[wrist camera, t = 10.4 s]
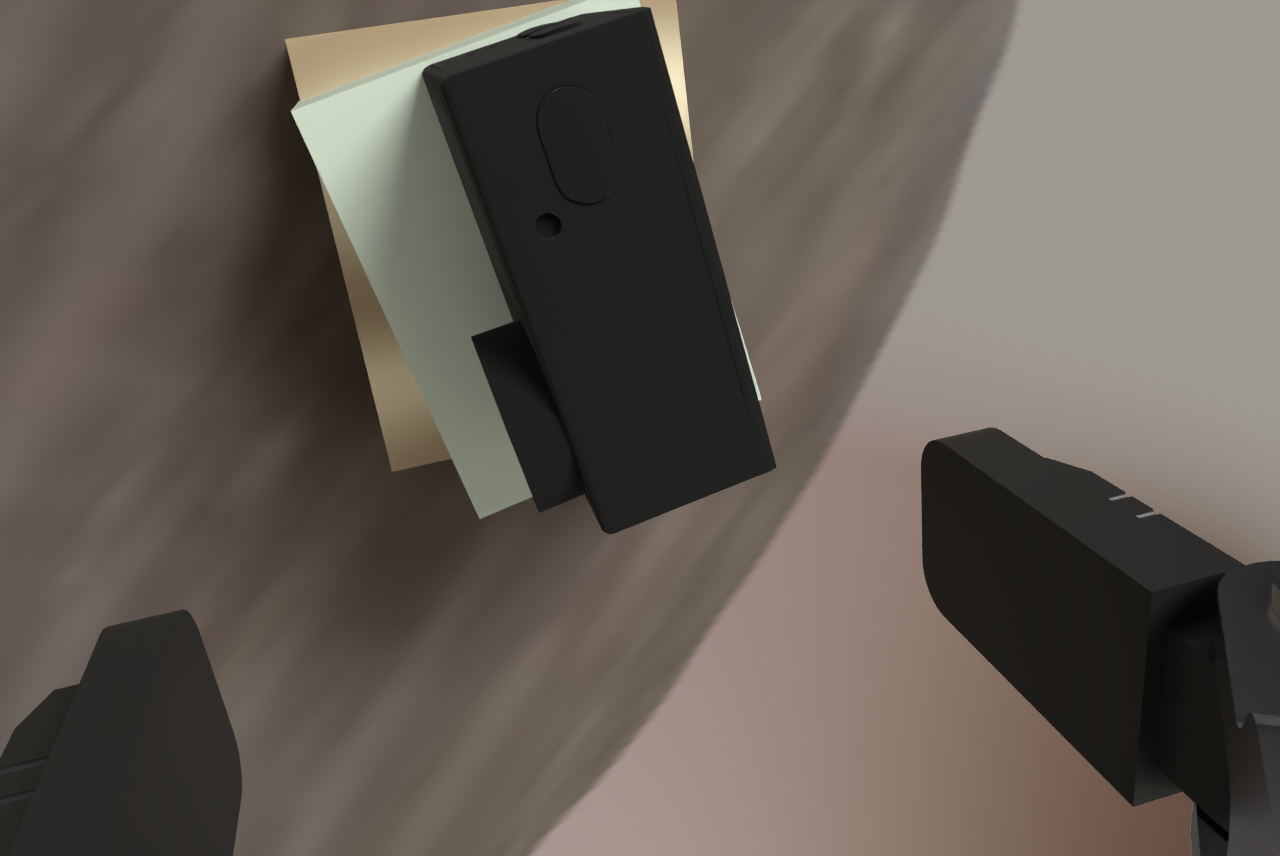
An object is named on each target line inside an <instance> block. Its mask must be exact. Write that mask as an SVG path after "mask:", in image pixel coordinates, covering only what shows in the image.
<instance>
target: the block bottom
mask: <svg viewBox="0 0 1280 856" xmlns="http://www.w3.org/2000/svg"><path fill="white" fill-rule="evenodd" d="M566 1H568V0H558V1H551V2H544V3H537V4H530V5H523V6H516V7H509V8H502V9H495V10H488V11H481V12H474V13H467V14H460V15H453V16H445V17H438V18H431V19H424V20H417V21H410V22H403V23H396V24H389V25H382V26H375V27H368V28H361V29H354V30H347V31H339V32H332V33H325V34H318V35H311V36H304V37H297V38H290V39H285V41H286V45H287V49H288V53H289V57H290V61H291V65H292V70H293V74H294V78H295V82H296V86H297V90H298V94H299V98H300V101H301V100H303V99H306V98H309V97H311V96H314V95H317V94H320V93H322V92H325V91H328V90H330V89H333V88H336V87H338V86H341V85H344V84H346V83H349V82H352V81H354V80H357V79H360V78H362V77H365V76H368V75H370V74H373V73H376V72H378V71H381V70H384V69H386V68H389V67H392V66H394V65H397V64H400V63H402V62H405V61H408V60H411V59H413V58H416V57H419V56H421V55H424V54H427V53H429V52H432V51H435V50H437V49H440V48H443V47H445V46H448V45H451V44H453V43H456V42H459V41H461V40H464V39H467V38H469V37H472V36H475V35H477V34H480V33H483V32H485V31H488V30H491V29H494V28H496V27H499V26H502V25H504V24H507V23H510V22H512V21H515V20H518V19H520V18H523V17H526V16H528V15H531V14H534V13H536V12H539V11H542V10H544V9H547V8H550V7H552V6H555V5H558V4H560V3H563V2H566ZM639 2H640V5H641V7H650V8H651V11H652V15H653V18H654V22H655V26H656V29H657V33H658V36H659V40H660V44H661V47H662V51H663V54H664V58H665V62H666V65H667V69H668V73H669V76H670V80H671V83H672V87H673V91H674V94H675V98H676V101H677V105H678V109H679V112H680V116H681V120H682V123H683V127H684V130H685V134H686V138H687V141H688V145H689V148H690V152H691V156H692V159H693V153H692V144H691V134H690V125H689V116H688V107H687V97H686V88H685V79H684V70H683V61H682V51H681V42H680V33H679V24H678V14H677V5H676V0H639ZM693 163H694V162H693ZM317 171H318V169H317ZM318 175H319V179H320V183H321V187H322V191H323V195H324V199H325V203H326V207H327V211H328V215H329V219H330V223H331V227H332V231H333V235H334V239H335V243H336V247H337V251H338V255H339V259H340V263H341V267H342V272H343V276H344V280H345V284H346V288H347V292H348V296H349V300H350V304H351V308H352V312H353V316H354V320H355V324H356V328H357V332H358V336H359V340H360V344H361V348H362V352H363V356H364V360H365V364H366V368H367V373H368V377H369V381H370V385H371V389H372V393H373V397H374V401H375V405H376V409H377V413H378V417H379V421H380V425H381V429H382V433H383V437H384V441H385V445H386V449H387V453H388V457H389V461H390V465H391V469H392V472H394V471H399V470H403V469H408V468H412V467H417V466H422V465H426V464H431V463H435V462H440V461H444V460H449V459H452V458H451V456H450V454H449V452H448V450H447V448H446V445H445V443H444V441H443V439H442V437H441V435H440V432H439V430H438V428H437V426H436V424H435V422H434V420H433V417H432V415H431V413H430V411H429V409H428V407H427V404H426V402H425V400H424V398H423V396H422V394H421V391H420V389H419V387H418V385H417V383H416V381H415V379H414V376H413V374H412V372H411V370H410V368H409V366H408V363H407V361H406V359H405V357H404V355H403V353H402V350H401V348H400V346H399V344H398V342H397V340H396V337H395V335H394V333H393V331H392V329H391V327H390V325H389V322H388V320H387V318H386V316H385V314H384V312H383V309H382V307H381V305H380V303H379V301H378V299H377V296H376V294H375V292H374V290H373V288H372V286H371V284H370V281H369V279H368V277H367V275H366V273H365V271H364V268H363V266H362V264H361V262H360V260H359V258H358V255H357V253H356V251H355V249H354V247H353V245H352V242H351V240H350V238H349V236H348V234H347V232H346V230H345V227H344V225H343V223H342V221H341V219H340V217H339V214H338V212H337V210H336V208H335V206H334V204H333V201H332V199H331V197H330V195H329V193H328V191H327V189H326V186H325V184H324V182H323V180H322V178H321V176H320V173H319V171H318Z"/></svg>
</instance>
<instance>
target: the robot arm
mask: <svg viewBox="0 0 1280 856" xmlns="http://www.w3.org/2000/svg"><path fill="white" fill-rule="evenodd" d="M921 490H922V550H923V553H922V555H923V569H924V575H925V579H926V582H927V586H928V589H929V592H930V594H931V597H932V599H933V601H934V603H935V604H936V606H937V608H938V609H939V611H940V612H941V613H942V614H943V616H944V617H945V618H946V619H947V620H948V621H949V622H950V623H951V624H952V625H953V626H954V627H955V628H956V629H957V630H958V631H959V632H960V633H961V634H962V635H963V636H964V637H965V638H966V639H967V640H968V641H969V642H970V643H971V644H972V645H973V646H974V647H975V648H976V649H977V650H978V651H979V652H980V653H981V654H982V655H983V656H984V657H985V658H986V659H987V660H988V661H989V662H990V663H991V664H992V665H993V666H994V667H995V668H996V669H997V670H998V671H999V672H1000V673H1001V674H1002V675H1003V676H1004V677H1005V678H1006V679H1007V680H1008V681H1009V682H1010V683H1011V684H1012V685H1013V686H1014V687H1015V688H1016V689H1017V690H1018V691H1019V692H1020V693H1021V694H1022V695H1023V696H1024V697H1025V698H1026V699H1027V700H1028V701H1029V702H1030V703H1031V704H1032V705H1033V706H1034V707H1035V708H1036V710H1037V711H1038V712H1040V714H1042V716H1044V717H1045V718H1046V720H1047V721H1048V722H1049V723H1050V724H1052V726H1053V727H1054V728H1055V729H1056V730H1057V731H1058V732H1059V733H1060V734H1061V735H1062V736H1063V737H1064V738H1065V739H1066V740H1068V742H1069V743H1070V744H1071V745H1072V746H1073V747H1074V748H1075V749H1076V750H1077V751H1078V752H1079V753H1080V754H1081V755H1082V756H1083V757H1084V758H1085V759H1086V760H1087V761H1088V762H1089V763H1090V764H1091V765H1092V766H1093V767H1094V768H1095V769H1096V770H1097V771H1098V772H1099V773H1100V774H1101V775H1102V776H1103V777H1104V778H1105V779H1106V780H1107V781H1108V782H1109V783H1110V784H1111V785H1112V786H1113V787H1114V788H1115V789H1116V790H1117V791H1118V792H1119V793H1120V794H1121V795H1122V796H1123V797H1124V798H1125V799H1126V800H1127V801H1128V802H1129V803H1130V804H1131V805H1132V806H1133V807H1134V806H1137V805H1141V804H1144V803H1147V802H1150V801H1153V800H1156V799H1160V798H1163V797H1166V796H1170V795H1173V794H1176V793H1179V792H1182V791H1183V792H1184V793H1185V794H1186V795H1187V796H1188V797H1189V798H1190V799H1191V800H1192V801H1193V810H1192V817H1191V828H1190V836H1191V851H1192V856H1280V561H1265V562H1257V563H1252V564H1248V565H1244V564H1242V563H1241V562H1239V561H1238V560H1236V559H1234V558H1233V557H1231V556H1229V555H1228V554H1226V553H1224V552H1223V551H1221V550H1219V549H1217V548H1216V547H1215V546H1213V545H1211V544H1210V543H1208V542H1206V541H1205V540H1203V539H1201V538H1200V537H1198V536H1196V535H1195V534H1193V533H1192V532H1190V531H1188V530H1186V529H1185V528H1183V527H1181V526H1180V525H1178V524H1177V523H1175V522H1173V521H1172V520H1170V519H1169V518H1167V517H1165V516H1164V515H1162V514H1158V515H1155V514H1154V511H1153V509H1152V508H1150V507H1149V506H1147V505H1146V504H1144V503H1142V502H1141V501H1139V500H1137V499H1136V498H1134V497H1126V494H1125V492H1124V491H1123V490H1121V489H1119V488H1118V487H1116V486H1114V485H1113V484H1111V483H1109V482H1108V481H1106V480H1104V479H1103V478H1101V477H1100V476H1098V475H1096V474H1095V473H1093V472H1091V471H1088V470H1085V469H1081V468H1078V467H1075V466H1072V465H1068V464H1065V463H1062V462H1059V461H1055V460H1051V459H1049V458H1043V457H1042V456H1040V455H1038V454H1037V453H1036V452H1034V451H1032V450H1030V449H1029V448H1028V447H1026V446H1024V445H1023V444H1021V443H1019V442H1018V441H1017V440H1015V439H1013V438H1012V437H1010V436H1009V435H1007V434H1005V433H1004V432H1002V431H1001V430H998V429H997V428H986V429H981V430H977V431H972V432H968V433H964V434H959V435H955V436H951V437H946V438H942V439H937V440H933V441H931V442H929V443H928V444H927V445H926V447H925V449H924V451H923V454H922V460H921ZM241 795H242V776H241V765H240V758H239V752H238V747H237V743H236V739H235V735H234V732H233V729H232V726H231V723H230V720H229V717H228V714H227V711H226V708H225V705H224V703H223V700H222V697H221V694H220V691H219V688H218V685H217V682H216V679H215V676H214V673H213V670H212V667H211V665H210V662H209V659H208V656H207V653H206V650H205V647H204V644H203V641H202V638H201V635H200V632H199V630H198V627H197V625H196V623H195V621H194V619H193V617H192V616H191V614H190V613H189V612H188V611H187V610H184V609H183V610H179V611H174V612H170V613H165V614H161V615H157V616H152V617H148V618H143V619H139V620H135V621H130V622H126V623H121V624H117V625H113V626H108V627H106V628H104V629H103V630H102V632H101V634H100V636H99V638H98V641H97V643H96V646H95V648H94V650H93V653H92V655H91V658H90V660H89V662H88V665H87V667H86V669H85V672H84V674H83V677H82V679H81V681H80V684H78V685H74V686H69V687H65V688H61V689H57V690H54V691H53V692H52V693H51V694H50V695H49V696H48V697H47V698H46V699H45V700H44V701H43V702H42V703H41V704H40V705H38V706H37V707H36V708H35V709H34V710H33V711H32V712H31V713H30V714H29V715H28V716H27V717H26V718H25V719H24V720H23V721H22V722H21V723H20V724H19V725H18V726H17V727H16V728H15V729H14V731H13V733H12V735H11V737H10V740H9V742H8V744H7V746H6V748H5V750H4V752H3V754H2V756H1V758H0V856H233V851H234V844H235V837H236V830H237V823H238V817H239V810H240V803H241Z"/></svg>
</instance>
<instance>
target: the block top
mask: <svg viewBox="0 0 1280 856" xmlns="http://www.w3.org/2000/svg"><path fill="white" fill-rule="evenodd" d="M635 7H641V5H640V2H639V0H568V1H566V2H563V3H560V4H558V5H555V6H552V7H550V8H547V9H544V10H542V11H539V12H536V13H534V14H531V15H528V16H526V17H523V18H520V19H518V20H515V21H512V22H510V23H507V24H504V25H502V26H499V27H496V28H494V29H491V30H488V31H485V32H483V33H480V34H477V35H475V36H472V37H469V38H467V39H464V40H461V41H459V42H456V43H453V44H451V45H448V46H445V47H443V48H440V49H437V50H435V51H432V52H429V53H427V54H424V55H421V56H419V57H416V58H413V59H411V60H408V61H405V62H402V63H400V64H397V65H394V66H392V67H389V68H386V69H384V70H381V71H378V72H376V73H373V74H370V75H368V76H365V77H362V78H360V79H357V80H354V81H352V82H349V83H346V84H344V85H341V86H338V87H336V88H333V89H330V90H328V91H325V92H322V93H320V94H317V95H314V96H311V97H309V98H306V99H303V100H301V101H299V102H298V103H297V104H296V105H295V107H294V108H293V109H292V110H291V113H292V115H293V117H294V119H295V122H296V124H297V126H298V128H299V130H300V132H301V135H302V137H303V139H304V141H305V143H306V145H307V148H308V150H309V152H310V154H311V156H312V158H313V160H314V163H315V165H316V167H317V169H318V171H319V173H320V176H321V178H322V180H323V182H324V184H325V186H326V189H327V191H328V193H329V195H330V197H331V199H332V201H333V204H334V206H335V208H336V210H337V212H338V214H339V217H340V219H341V221H342V223H343V225H344V227H345V230H346V232H347V234H348V236H349V238H350V240H351V242H352V245H353V247H354V249H355V251H356V253H357V255H358V258H359V260H360V262H361V264H362V266H363V268H364V271H365V273H366V275H367V277H368V279H369V281H370V284H371V286H372V288H373V290H374V292H375V294H376V296H377V299H378V301H379V303H380V305H381V307H382V309H383V312H384V314H385V316H386V318H387V320H388V322H389V325H390V327H391V329H392V331H393V333H394V335H395V337H396V340H397V342H398V344H399V346H400V348H401V350H402V353H403V355H404V357H405V359H406V361H407V363H408V366H409V368H410V370H411V372H412V374H413V376H414V379H415V381H416V383H417V385H418V387H419V389H420V391H421V394H422V396H423V398H424V400H425V402H426V404H427V407H428V409H429V411H430V413H431V415H432V417H433V420H434V422H435V424H436V426H437V428H438V430H439V432H440V435H441V437H442V439H443V441H444V443H445V445H446V448H447V450H448V452H449V454H450V456H451V458H452V461H453V463H454V465H455V467H456V469H457V471H458V473H459V476H460V478H461V480H462V482H463V484H464V486H465V489H466V491H467V493H468V495H469V497H470V499H471V502H472V504H473V506H474V508H475V510H476V512H477V515H478V517H479V519H482V518H484V517H486V516H489V515H491V514H493V513H496V512H498V511H500V510H503V509H505V508H507V507H510V506H512V505H514V504H517V503H519V502H522V501H524V500H526V499H529V498H531V497H532V494H531V491H530V489H529V486H528V484H527V481H526V479H525V476H524V474H523V471H522V469H521V466H520V463H519V461H518V458H517V456H516V453H515V451H514V448H513V446H512V443H511V441H510V438H509V436H508V433H507V431H506V428H505V425H504V423H503V420H502V418H501V415H500V412H499V410H498V407H497V404H496V402H495V399H494V397H493V394H492V391H491V389H490V386H489V384H488V381H487V378H486V376H485V373H484V371H483V368H482V365H481V363H480V360H479V357H478V355H477V352H476V349H475V347H474V344H473V341H472V339H471V336H474V335H477V334H480V333H482V332H485V331H488V330H491V329H494V328H497V327H500V326H502V325H505V324H508V323H511V322H513V320H512V317H511V314H510V311H509V309H508V306H507V303H506V301H505V298H504V295H503V293H502V290H501V287H500V284H499V282H498V279H497V276H496V274H495V271H494V268H493V266H492V263H491V260H490V257H489V255H488V252H487V249H486V247H485V244H484V241H483V239H482V236H481V233H480V230H479V228H478V225H477V222H476V220H475V217H474V214H473V212H472V209H471V206H470V204H469V201H468V198H467V195H466V193H465V190H464V187H463V185H462V182H461V179H460V177H459V174H458V171H457V168H456V166H455V163H454V160H453V158H452V155H451V152H450V150H449V147H448V144H447V141H446V139H445V136H444V133H443V131H442V128H441V125H440V123H439V120H438V117H437V114H436V112H435V109H434V106H433V104H432V101H431V98H430V96H429V93H428V90H427V87H426V85H425V82H424V79H423V77H422V72H423V70H424V68H425V67H427V66H429V65H431V64H434V63H437V62H439V61H442V60H445V59H448V58H451V57H454V56H457V55H460V54H463V53H466V52H469V51H472V50H475V49H478V48H481V47H484V46H487V45H490V44H493V43H496V42H499V41H502V40H505V39H508V38H511V37H514V36H517V35H518V34H519V33H521V32H523V31H525V30H527V29H530V28H532V27H536V26H539V25H543V24H548V23H553V22H558V21H561V20H564V19H567V18H570V17H574V16H577V15H580V14H585V13H593V12H602V11H610V10H618V9H627V8H635ZM732 305H733V304H732ZM733 309H734V307H733ZM734 312H735V311H734ZM735 316H736V314H735ZM736 320H737V317H736ZM737 323H738V320H737ZM738 327H739V324H738ZM739 331H740V334H741V338H742V342H743V345H744V349H745V353H746V356H747V360H748V364H749V367H750V371H751V375H752V378H753V382H754V386H755V389H756V393H757V397H758V400H761V395H760V392H759V389H758V386H757V382H756V379H755V376H754V373H753V369H752V366H751V363H750V360H749V356H748V353H747V350H746V346H745V343H744V340H743V337H742V333H741V330H740V327H739Z"/></svg>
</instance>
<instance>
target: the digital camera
mask: <svg viewBox="0 0 1280 856" xmlns="http://www.w3.org/2000/svg"><path fill="white" fill-rule="evenodd" d="M422 77H423V79H424V82H425V85H426V87H427V90H428V93H429V96H430V98H431V101H432V104H433V106H434V109H435V112H436V114H437V117H438V120H439V123H440V125H441V128H442V131H443V133H444V136H445V139H446V141H447V144H448V147H449V150H450V152H451V155H452V158H453V160H454V163H455V166H456V168H457V171H458V174H459V177H460V179H461V182H462V185H463V187H464V190H465V193H466V195H467V198H468V201H469V204H470V206H471V209H472V212H473V214H474V217H475V220H476V222H477V225H478V228H479V230H480V233H481V236H482V239H483V241H484V244H485V247H486V249H487V252H488V255H489V257H490V260H491V263H492V266H493V268H494V271H495V274H496V276H497V279H498V282H499V284H500V287H501V290H502V293H503V295H504V298H505V301H506V303H507V306H508V309H509V311H510V314H511V317H512V320H513V322H511V323H508V324H505V325H502V326H500V327H497V328H494V329H491V330H488V331H485V332H482V333H480V334H477V335H474V336H471V339H472V341H473V344H474V347H475V349H476V352H477V355H478V357H479V360H480V363H481V365H482V368H483V371H484V373H485V376H486V378H487V381H488V384H489V386H490V389H491V391H492V394H493V397H494V399H495V402H496V404H497V407H498V410H499V412H500V415H501V418H502V420H503V423H504V425H505V428H506V431H507V433H508V436H509V438H510V441H511V443H512V446H513V448H514V451H515V453H516V456H517V458H518V461H519V463H520V466H521V469H522V471H523V474H524V476H525V479H526V481H527V484H528V486H529V489H530V491H531V494H532V497H533V499H534V502H535V504H536V506H537V509H538V511H539V512H542V511H544V510H547V509H549V508H552V507H554V506H557V505H559V504H561V503H564V502H566V501H569V500H571V499H574V498H576V497H578V496H581V495H583V494H585V496H586V498H587V500H588V502H589V504H590V506H591V508H592V510H593V512H594V514H595V516H596V518H597V520H598V522H599V525H600V527H601V529H602V530H603V531H604V532H606V533H608V534H613V533H617V532H619V531H621V530H624V529H626V528H629V527H631V526H634V525H636V524H639V523H641V522H644V521H646V520H649V519H651V518H654V517H656V516H659V515H661V514H664V513H666V512H669V511H671V510H674V509H676V508H679V507H681V506H684V505H686V504H689V503H691V502H694V501H696V500H699V499H701V498H704V497H706V496H709V495H711V494H714V493H716V492H719V491H721V490H724V489H726V488H729V487H731V486H734V485H736V484H739V483H741V482H744V481H746V480H749V479H751V478H754V477H756V476H759V475H762V474H764V473H767V472H769V471H771V470H773V469H774V468H776V464H775V460H774V456H773V452H772V449H771V445H770V441H769V438H768V434H767V430H766V426H765V423H764V419H763V415H762V412H761V408H760V404H759V400H758V397H757V393H756V389H755V386H754V382H753V378H752V375H751V371H750V367H749V364H748V360H747V356H746V353H745V349H744V345H743V342H742V338H741V334H740V331H739V327H738V323H737V320H736V316H735V312H734V309H733V305H732V301H731V298H730V294H729V291H728V287H727V283H726V280H725V276H724V272H723V269H722V265H721V261H720V258H719V254H718V250H717V247H716V243H715V239H714V236H713V232H712V228H711V225H710V221H709V217H708V214H707V210H706V206H705V203H704V199H703V196H702V192H701V188H700V185H699V181H698V177H697V174H696V170H695V167H694V163H693V159H692V156H691V152H690V148H689V145H688V141H687V138H686V134H685V130H684V127H683V123H682V120H681V116H680V112H679V109H678V105H677V101H676V98H675V94H674V91H673V87H672V83H671V80H670V76H669V73H668V69H667V65H666V62H665V58H664V54H663V51H662V47H661V44H660V40H659V36H658V33H657V29H656V26H655V22H654V18H653V15H652V11H651V8H650V7H635V8H627V9H618V10H610V11H602V12H593V13H585V14H580V15H577V16H574V17H570V18H567V19H564V20H561V21H558V22H553V23H548V24H543V25H539V26H536V27H532V28H530V29H527V30H525V31H523V32H521V33H519V34H518V35H517V36H514V37H511V38H508V39H505V40H502V41H499V42H496V43H493V44H490V45H487V46H484V47H481V48H478V49H475V50H472V51H469V52H466V53H463V54H460V55H457V56H454V57H451V58H448V59H445V60H442V61H439V62H437V63H434V64H431V65H429V66H427V67H425V68H424V70H423V72H422Z"/></svg>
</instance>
